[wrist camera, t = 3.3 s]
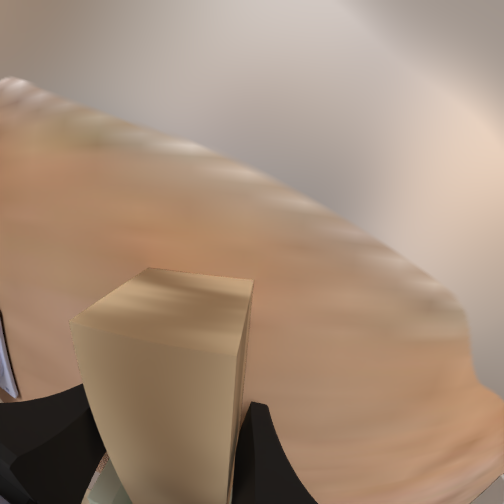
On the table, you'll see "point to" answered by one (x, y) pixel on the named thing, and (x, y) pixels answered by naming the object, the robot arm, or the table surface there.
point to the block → (111, 488)
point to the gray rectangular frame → (492, 493)
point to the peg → (168, 381)
